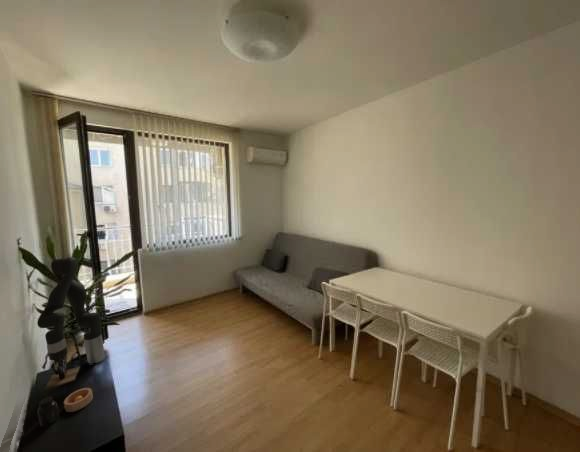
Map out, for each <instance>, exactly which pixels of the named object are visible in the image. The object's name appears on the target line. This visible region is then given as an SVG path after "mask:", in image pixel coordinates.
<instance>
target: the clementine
mask: <svg viewBox="0 0 580 452" xmlns="http://www.w3.org/2000/svg"><path fill="white" fill-rule="evenodd" d="M81 399H83V396H78V397H76V398H75V400H74V402H77V401H79V400H81Z"/></svg>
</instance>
